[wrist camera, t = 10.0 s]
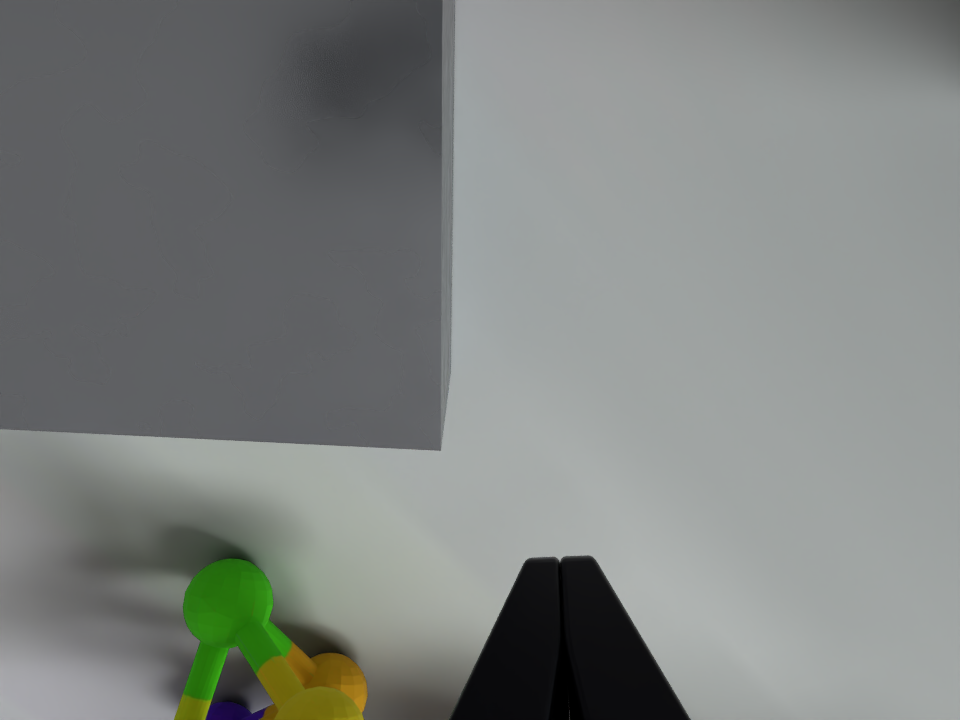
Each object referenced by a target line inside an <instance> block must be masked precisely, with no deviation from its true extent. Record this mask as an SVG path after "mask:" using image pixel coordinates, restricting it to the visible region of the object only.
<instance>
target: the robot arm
mask: <svg viewBox="0 0 960 720" xmlns="http://www.w3.org/2000/svg"><path fill="white" fill-rule="evenodd" d="M569 711H570V717H569ZM449 720H691V719H690V718H689V716H688V714H687V713H686V711H685V709H684V708H683V706H682V704H681V703H680V701H679V699H678V698H677V696H676V694H675V692H674V691H673V689H672V687H671V686H670V684H669V682H668V681H667V679H666V677H665V676H664V674H663V672H662V671H661V669H660V667H659V666H658V664H657V662H656V660H655V659H654V657H653V655H652V654H651V652H650V650H649V649H648V647H647V645H646V644H645V642H644V640H643V639H642V637H641V635H640V634H639V632H638V630H637V628H636V627H635V625H634V623H633V622H632V620H631V618H630V617H629V615H628V613H627V612H626V610H625V608H624V607H623V605H622V603H621V602H620V600H619V598H618V597H617V595H616V593H615V591H614V590H613V588H612V586H611V585H610V583H609V581H608V580H607V578H606V576H605V575H604V573H603V571H602V570H601V568H600V566H599V565H598V563H597V561H596V560H595V559H594V558H593V557H592V556H566V557H563V558H562V559H561V561H560V562H559V560H558V559H557V558H556V557H538V558H529V559H527V560H526V561H525V563H524V564H523V566H522V568H521V570H520V572H519V574H518V577H517V579H516V581H515V583H514V585H513V587H512V589H511V591H510V593H509V595H508V597H507V599H506V601H505V604H504V606H503V608H502V610H501V612H500V614H499V616H498V618H497V620H496V622H495V624H494V626H493V629H492V631H491V633H490V635H489V637H488V639H487V641H486V643H485V645H484V647H483V649H482V651H481V654H480V656H479V658H478V660H477V662H476V664H475V666H474V668H473V670H472V672H471V674H470V676H469V678H468V681H467V683H466V685H465V687H464V689H463V691H462V693H461V695H460V697H459V699H458V701H457V703H456V706H455V708H454V710H453V712H452V714H451V716H450V718H449Z"/></svg>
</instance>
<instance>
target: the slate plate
mask: <svg viewBox="0 0 960 720" xmlns="http://www.w3.org/2000/svg"><path fill="white" fill-rule="evenodd" d="M454 36H455V0H0V429H11V430H31V431H52V432H72V433H92V434H113V435H133V436H154V437H174V438H194V439H215V440H235V441H255V442H276V443H296V444H316V445H337V446H357V447H378V448H398V449H418V450H439V451H441V445H442V437H443V429H444V421H445V413H446V406H447V398H448V390H449V382H450V374H451V297H452V210H453V123H454Z"/></svg>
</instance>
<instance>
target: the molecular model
mask: <svg viewBox="0 0 960 720" xmlns="http://www.w3.org/2000/svg"><path fill="white" fill-rule="evenodd" d="M272 607H273V595H272V588H271V585H270V583H269V580H268V579H267V577H266V576H265V574H264V573H263V572H262V571H261V570H260V569H259V568H258V567H256V566H255V565H254V564H252V563H251V562H249V561H245V560H241V559H232V558H230V559H223V560H218V561H216V562H214V563H212V564H209V565H208V566H206V567H205V568H203V569H202V570H201V571H200V572H199V573H198V574H197V575H196V576H195V577H194V578H193V579H192V581H191V583H190V585H189V586H188V588H187V590H186V592H185V597H184V603H183V613H184V619H185V621H186V624H187V627H188V628H189V630H190V631H191V632H192V634H193V635H194V636H195V637H196V638H197V639H199V640H200V644H199V647H198V650H197V653H196V656H195V659H194V662H193V665H192V668H191V671H190V674H189V677H188V680H187V683H186V686H185V689H184V692H183V695H182V698H181V700H180V703H179V706H178V709H177V712H176V715H175V718H174V720H364V718H363V715H362V712H363V710H364V708H365V704H366V700H367V696H368V693H367V684H366V680H365V677H364V674H363V672H362V671H361V669H360V668H359V666H358V665H357V664H356V663H355V662H353V661H352V660H351V659H350V658H349V657H347V656H345V655H342V654H338V653H322V654H319V655H316V656H314V657H312V658H309V657H308V656H307V655H306V654H305V653H304V652H303V651H302V650H301V649H300V648H299V647H297V646H296V645H295V644H294V643H293V642H292V641H291V640H290V639H289V638H288V637H287V636H286V635H285V634H284V633H283V632H282V631H281V630H279V629H278V628H277V627H276V626H275V625H274V624H273V623H272V622H271V621H270V620H269V618H270V614H271V611H272ZM237 646H238V647H239V649H240V650H241V652H242V653H243V655H244V657H245V658H246V660H247V661H248V663H249V665H250V666H251V668H252V669H253V671H254V672H255V674H256V676H257V677H258V679H259V680H260V682H261V683H262V685H263V687H264V688H265V690H266V691H267V693H268V695H269V696H270V698H271V699H272V701H273V702H274V704H273V705H271V706H269V707H266V708H264V709H262V710H260V711H258V712H255V713H253V714H251V712H250V711H249V710H247V709H246V708H245V707H243V706H241V705H239V704H236V703H233V702H219V703H214V704H212V705H210V704H211V701H212V698H213V695H214V692H215V689H216V686H217V683H218V680H219V677H220V674H221V671H222V668H223V665H224V662H225V659H226V656H227V653H228V650H229V648H233V647H237Z"/></svg>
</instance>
